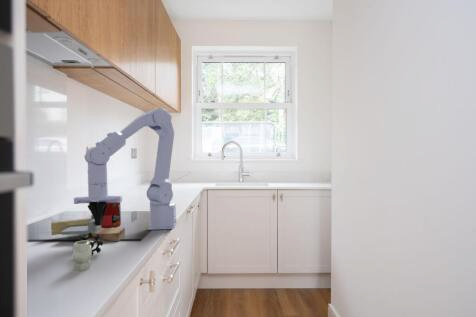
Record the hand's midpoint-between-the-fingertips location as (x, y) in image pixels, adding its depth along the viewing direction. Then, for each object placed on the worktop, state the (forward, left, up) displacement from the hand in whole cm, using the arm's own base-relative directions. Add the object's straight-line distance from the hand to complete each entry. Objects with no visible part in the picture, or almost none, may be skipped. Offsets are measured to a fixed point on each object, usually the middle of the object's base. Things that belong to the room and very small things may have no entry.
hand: (99, 224), depth 100 cm
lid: (+6, -1, -2) cm, 6 cm away
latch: (+10, -6, -3) cm, 12 cm away
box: (-2, -1, -5) cm, 5 cm away
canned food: (+3, -18, -5) cm, 19 cm away
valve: (-4, +21, -5) cm, 22 cm away
